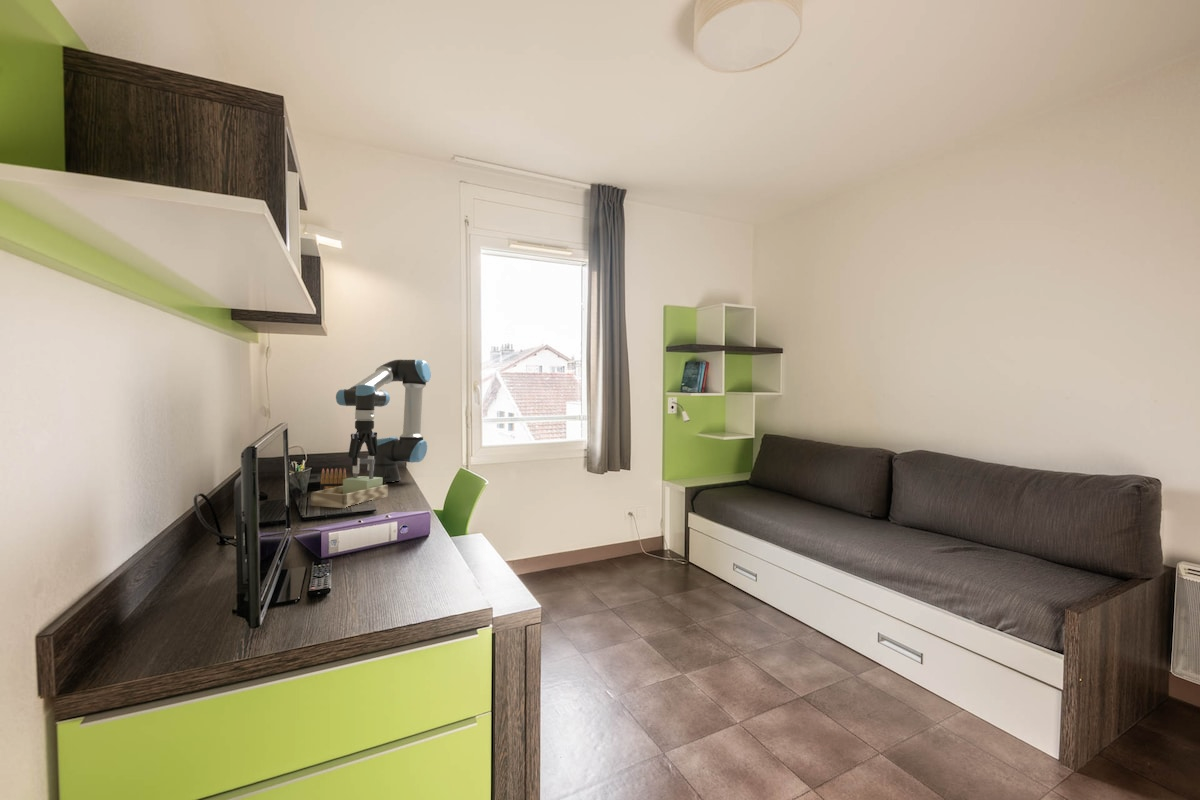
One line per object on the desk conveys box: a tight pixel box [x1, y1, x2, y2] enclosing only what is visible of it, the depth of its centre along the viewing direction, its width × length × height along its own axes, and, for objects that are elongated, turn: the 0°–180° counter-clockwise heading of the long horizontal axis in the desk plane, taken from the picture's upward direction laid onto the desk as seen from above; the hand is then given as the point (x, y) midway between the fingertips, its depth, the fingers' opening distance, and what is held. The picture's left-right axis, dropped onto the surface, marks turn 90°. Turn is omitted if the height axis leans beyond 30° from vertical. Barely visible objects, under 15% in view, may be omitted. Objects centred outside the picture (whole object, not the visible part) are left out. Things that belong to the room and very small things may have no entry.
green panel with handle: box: [343, 457, 384, 494], centre depth 215 cm, size 10×12×16 cm
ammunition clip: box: [319, 467, 347, 491], centre depth 221 cm, size 11×2×12 cm, turn 103°
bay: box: [310, 484, 389, 509], centre depth 208 cm, size 26×16×5 cm, turn 166°
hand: (363, 471), depth 215 cm, fingers open, 8 cm apart
